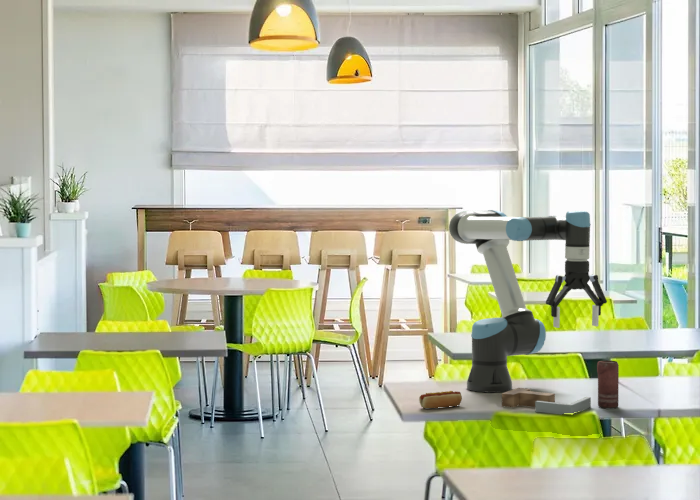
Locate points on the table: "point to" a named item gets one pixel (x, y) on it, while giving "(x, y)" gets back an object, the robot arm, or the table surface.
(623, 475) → the table surface
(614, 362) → the can
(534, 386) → the table surface
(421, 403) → the food
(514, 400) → the t block
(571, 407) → the bracket
